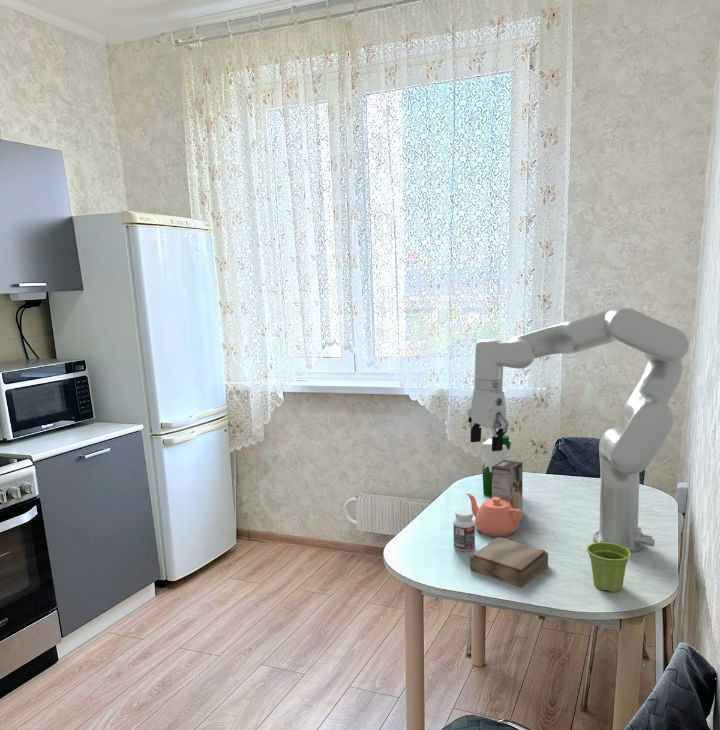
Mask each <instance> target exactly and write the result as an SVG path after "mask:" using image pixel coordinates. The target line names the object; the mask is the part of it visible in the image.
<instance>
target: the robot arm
mask: <svg viewBox="0 0 720 730" xmlns="http://www.w3.org/2000/svg"><path fill="white" fill-rule="evenodd" d="M614 342H620V343H622V344H624V345H626V346H628V347H631V348H633V349H635V350H637V351H640V352H641V353H643V354H644V356H645V359H646V361H645V362H646V363H645V369H644V371H643V374H642V375H641V377H640V379H639V381H638V383H637V385H636V386H635V388H634V389H633V391H632V393H631V395H629V397H628V399H627V400H626V402H625V403H624V406H623V409H622V415H623V418H624V420H625V422H626V423H627V424H626V426H625V427H622V426H621V427H620V426H615V427H611V428H608V429H606V431H605V432H604V433H603V434H601V437H600V440H599V444H598V452H599V455H598V456H599V464H600V467H599V468H600V482H599V483H600V487H599V490H600V491H599V530H598V531H597V530H596V531H595V532H594V533H593V536H592V540H593V543H598V542H606V543H613V544H617V545H620V546H623V547H625V548H627V549H628V550H629V551H630V553H634V552H638V551H640V550H642V549H643V548H644V546H645V545H646V546H648V547H651V548H654V546H655V542H656V541H655V539H654V538H653V535H650V534H649V535H648V534H644V533H643V532H642V527H639V506H640V505H639V501H640V495H639V494H640V473H641V472H643V471H645V470H646V469H647V468H648V467H649V466H650V464H651V463H652V462H653V460H654V458H655V457H656V456H657V454H658V452H659V450H661V448H662V446H663V445H664V443H665V441H666V439H667V438H668V436H669V434H670V432H672V431H671V430H672V429H673V425H674V419H675V417H674V413H673V410H672V409H671V407H670V406H669V405H668V404H669V402H670V401H671V399H672V397H673V395H674V394H675V391H676V390H677V388H678V385H680V382H681V378H682V374H683V362H682V359H683V358H684V357H685V356H686V354H687V353H688V351H689V347H690V341H689V339H688V336H687V335H686V333H684V332H683V331H681V330H680V329H679V328H676V327H674V326H671V325H669V324H668V323H666V322H662V321H659V320H658V319H655V318H653V317H651V316H648V315H646V314H644V313H642V312H640V311H638V310H636V309H633V308H629V307H622V306H620V307H619V306H617V307H616V306H615V307H611V308H607V309H604V310H602V311H599V312H594V313H592V314H588V315H586V316H583V317H579V318H576V319H573V320H572V319H571V320H568V321H565V322H562V323H557V324H555V325H552V326H548V327H545V328H541V329H538V330H533V331H531V332H528V333H527V332H526V333H525V334H522V335H518V336H515V337H511V338H510V339H509V340H507V341H502V340H499V339H495V338H494V339H492V338H491V339H490V338H484V339H479V340H477V341H476V343H475V351H474V352H475V355H474V387H473V391H472V392H473V393H472V399H471V408H470V409H468V410H467V411H466V414H467V417H468V419H467V420H468V422H469V428H470V443H479V442H480V443H481V441H482V427H484V428H487V429H490V430H491V432H492V435H493V436H491V439H492V451H501V450H502V449H503V436H505V435H506V433H507V432H508V428H509V425H510V423H509V421H508V420H507V419H506V418H507V416H506V415H507V413H506V408H507V407H506V398H505V392H504V391H503V387H504V386H503V382H504V380H503V379H504V367H505V368H510V369H517V370H518V369H519V370H520V369H525V368H528V367H529V366H531V365H532V364H533V362H534V360H535V359H538V358H542V357H546V356H550V355H557V354H566V355H567V354H577V353H580V352H584V351H586V350H591V349H593V348H597V347H599V346H604V345H608V344H610V343H614ZM481 426H482V427H481Z"/></svg>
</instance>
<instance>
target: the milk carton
mask: <svg viewBox="0 0 720 730" xmlns="http://www.w3.org/2000/svg"><path fill="white" fill-rule="evenodd" d="M481 446H482V448H481V449H482V450H481V451H482V490H483V495H484V496H491V497H492V467H493V466H494V465H496V464H498V463H499V462H501V461H503V460H509V461H512V459H511V458H512V456H511V455H512V440H510V436H509V435H506V434H505V436H503V449H502V450H501V451H492V438H488V439H487V440H485V441H484V442H482V444H481Z"/></svg>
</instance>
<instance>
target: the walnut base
mask: <svg viewBox="0 0 720 730" xmlns="http://www.w3.org/2000/svg"><path fill="white" fill-rule="evenodd" d="M469 558H470V559H469V560H470V561H469V562H470V565H469V568H470V571H473V572H476V573H479V574H482V575H484V576H487V577H491V578H494V579H496V580H500V581H502V582H505V583H508V584H511V585H513V586H517V587H520V588H524V586H526V584H528V583H529V582H531V580H532V579H534V578H535V577H536V576H538V575H539V574H540V573H541V572H542V571H543V570H545V568H547V567H548V566H549V552H548V551H546V550H545V549H543V548H538V547H534V546H532V545H528V544H524V543H520V542H518V541H514V540H510V539H506V538H503V537H496V538H494V540H492V541H491V542H489V543H488V544H486V545H484V546H483V547H482V548H480V549H478V550H477V551H476V552H474V553H473V554H472V555H471V556H470V557H469Z"/></svg>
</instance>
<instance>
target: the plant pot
mask: <svg viewBox="0 0 720 730" xmlns="http://www.w3.org/2000/svg"><path fill="white" fill-rule="evenodd" d="M586 552H587V553H588V556H589V559H590V565H591V572H592V580H593V585H594V586H595V587H596V589H599V590H602V591H608V592H609V593H614V592H620V591H621V590H622V588H623V585H624V579H625V575H626V569H627V563H628V562H629V559H630V558H631V556H632V555H631V553H632V552H630V551H629V550H628V549H627V548H625V547H623V546H620V545H617V544H613V543H606V542H598V543H595V542H592V543H590V544H589V545H587V546H586Z"/></svg>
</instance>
